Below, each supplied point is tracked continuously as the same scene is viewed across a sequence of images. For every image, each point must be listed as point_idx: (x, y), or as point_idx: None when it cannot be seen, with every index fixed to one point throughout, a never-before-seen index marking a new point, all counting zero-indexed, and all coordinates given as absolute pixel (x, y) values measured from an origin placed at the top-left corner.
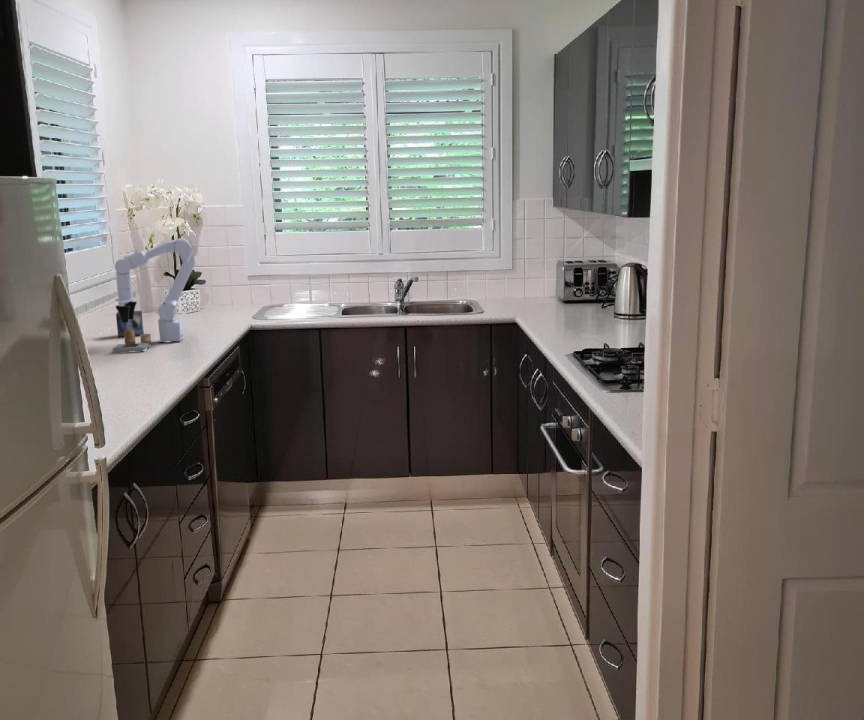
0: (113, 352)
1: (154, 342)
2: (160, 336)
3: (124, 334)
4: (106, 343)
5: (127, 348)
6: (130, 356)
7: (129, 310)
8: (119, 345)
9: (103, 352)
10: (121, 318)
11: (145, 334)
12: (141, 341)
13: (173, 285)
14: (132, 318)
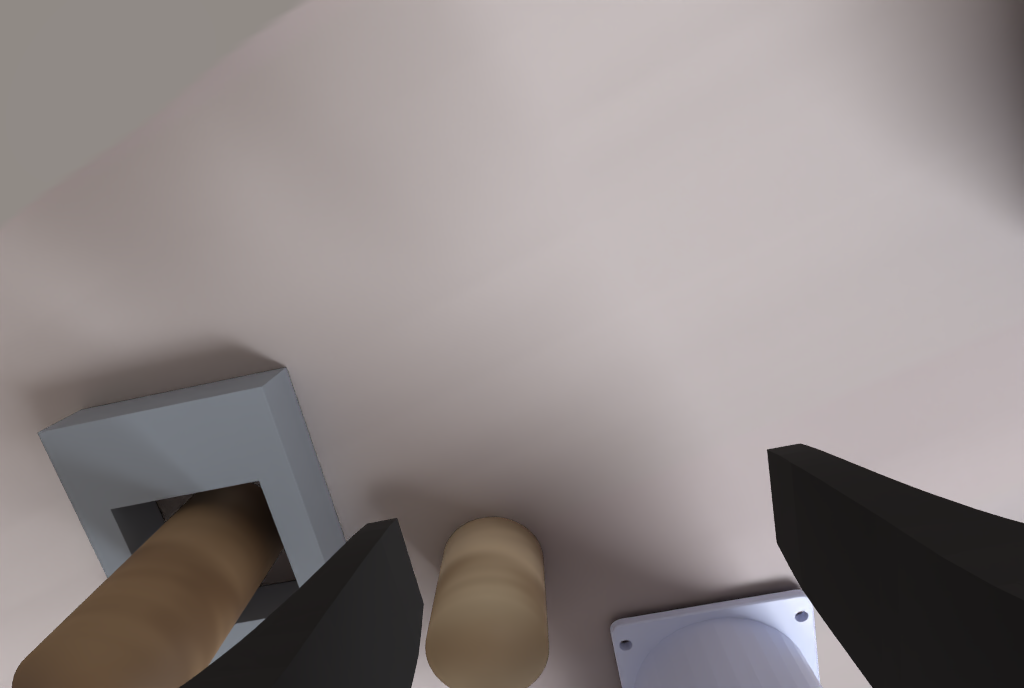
0: (78, 415)
1: (651, 574)
2: (671, 682)
3: (52, 632)
4: (600, 14)
5: (111, 567)
6: (2, 631)
7: (920, 653)
8: (191, 436)
9: (87, 281)
10: (315, 578)
11: (513, 642)
12: (441, 572)
13: None
14: (785, 550)
